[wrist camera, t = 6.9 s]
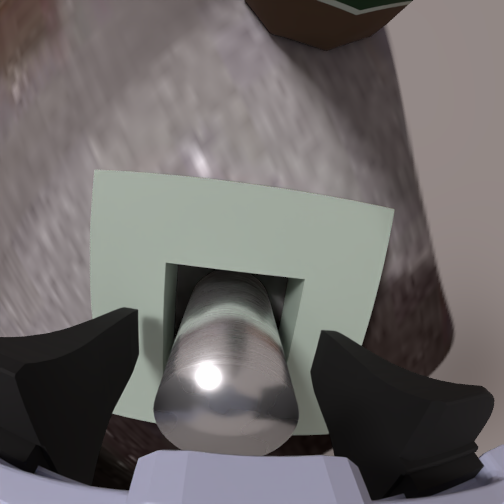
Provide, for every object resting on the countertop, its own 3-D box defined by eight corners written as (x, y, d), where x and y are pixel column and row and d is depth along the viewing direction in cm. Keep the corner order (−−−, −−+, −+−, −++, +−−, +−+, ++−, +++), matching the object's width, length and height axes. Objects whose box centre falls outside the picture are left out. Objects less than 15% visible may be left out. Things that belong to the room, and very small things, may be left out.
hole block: (120, 380, 16) (105, 411, 13) (121, 170, 13) (94, 169, 10) (316, 401, 17) (328, 434, 14) (365, 203, 14) (394, 209, 11)
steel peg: (187, 336, 15) (156, 452, 8) (193, 263, 14) (150, 353, 7) (263, 344, 16) (282, 463, 8) (275, 274, 15) (314, 369, 7)
